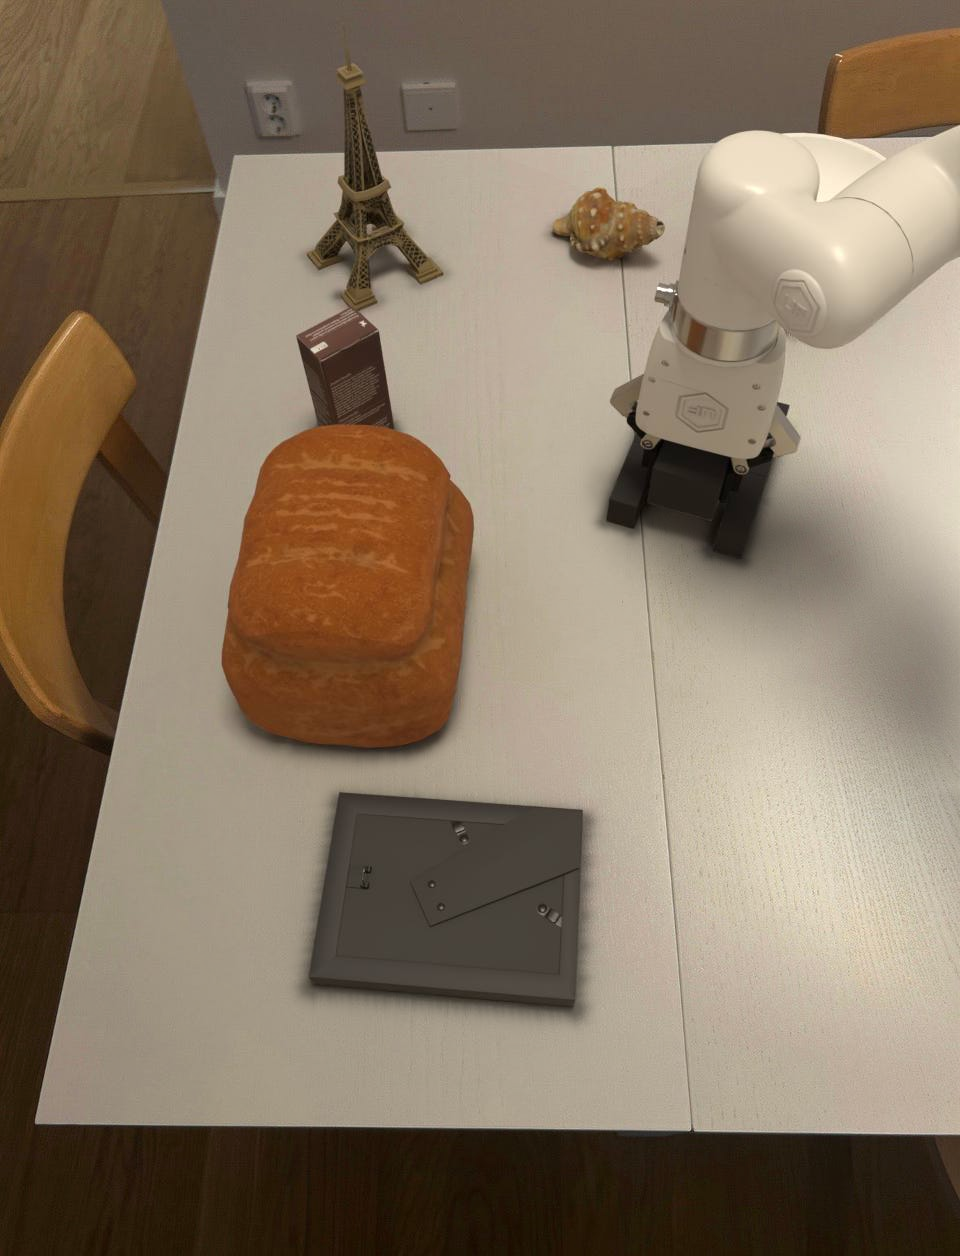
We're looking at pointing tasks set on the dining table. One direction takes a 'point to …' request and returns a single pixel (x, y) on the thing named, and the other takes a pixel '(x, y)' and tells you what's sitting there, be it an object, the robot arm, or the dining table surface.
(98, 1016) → the dining table surface
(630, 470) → the forked base block
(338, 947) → the picture frame
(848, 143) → the bowl
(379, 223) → the eiffel tower
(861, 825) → the dining table surface
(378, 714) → the bread
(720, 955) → the dining table surface
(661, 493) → the dark grey square block
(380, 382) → the box
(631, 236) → the seashell
